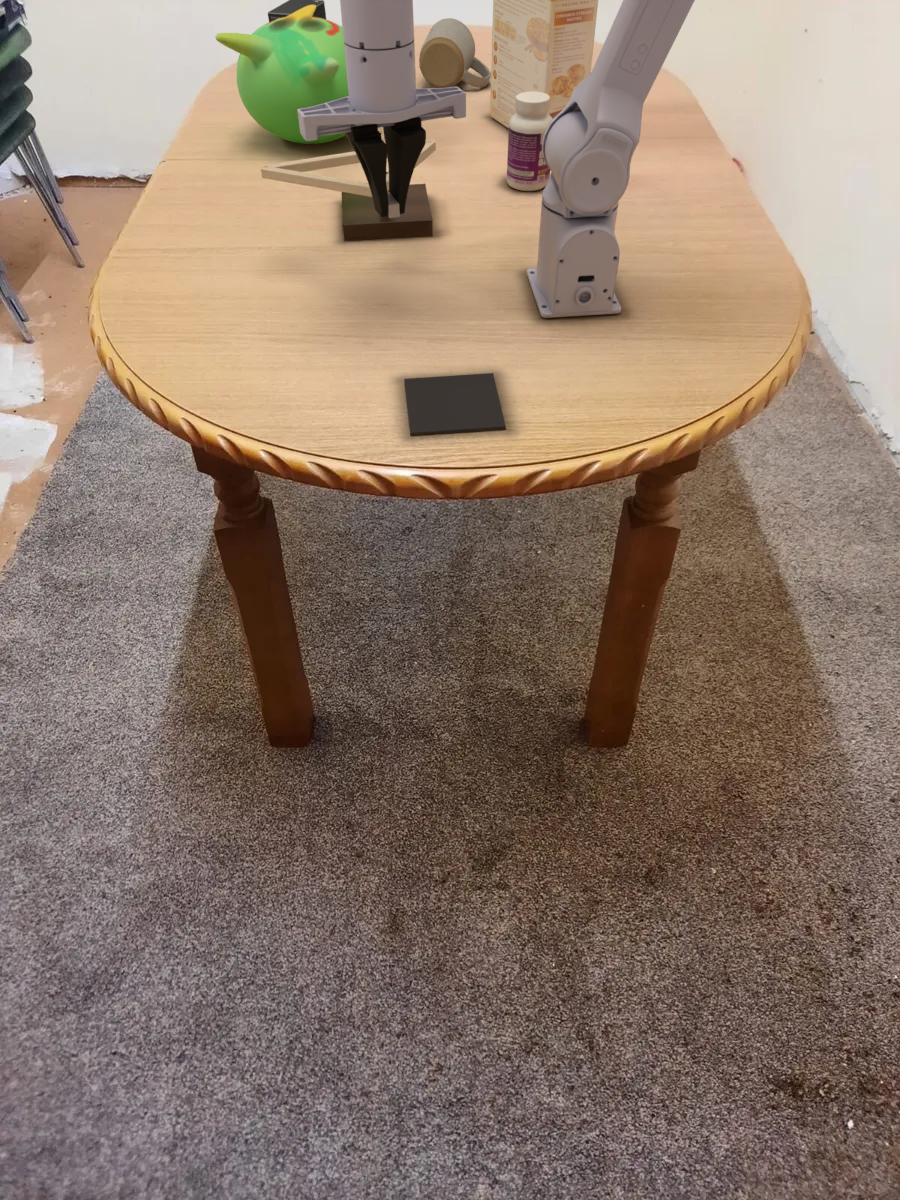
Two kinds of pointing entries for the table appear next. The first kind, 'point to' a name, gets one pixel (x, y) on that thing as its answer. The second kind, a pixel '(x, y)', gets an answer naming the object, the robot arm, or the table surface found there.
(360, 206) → the block
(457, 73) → the ceramic mug
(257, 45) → the toy bird
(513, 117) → the pill bottle
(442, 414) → the mat
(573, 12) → the coffeecake box
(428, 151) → the hanger
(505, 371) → the table surface
